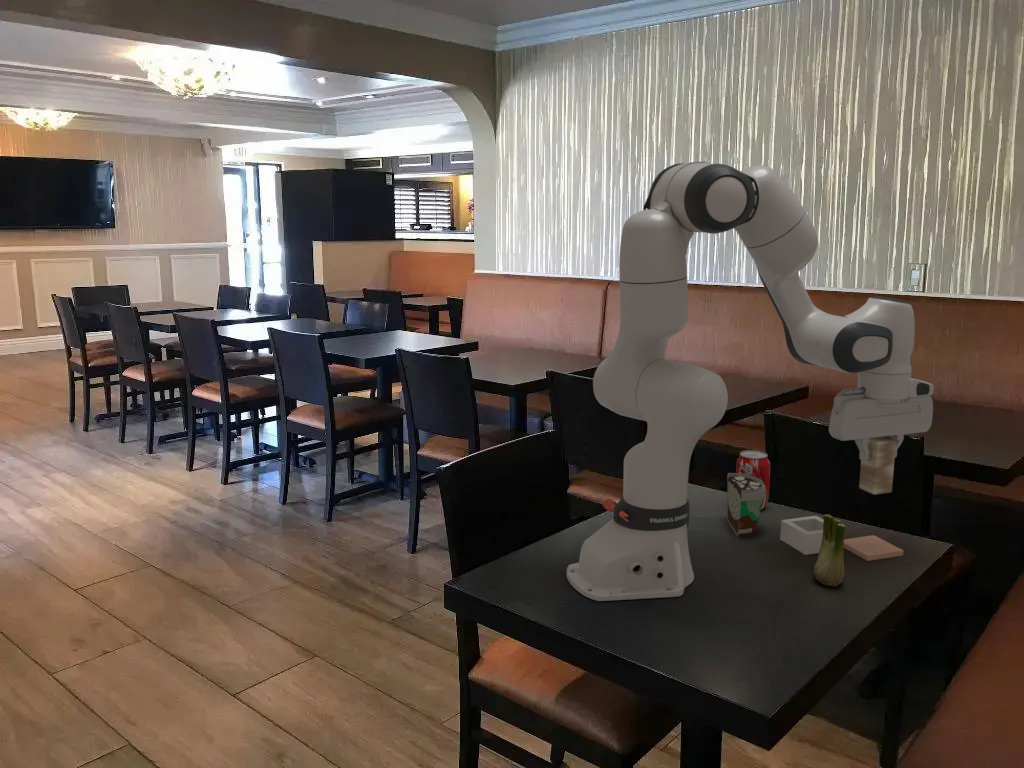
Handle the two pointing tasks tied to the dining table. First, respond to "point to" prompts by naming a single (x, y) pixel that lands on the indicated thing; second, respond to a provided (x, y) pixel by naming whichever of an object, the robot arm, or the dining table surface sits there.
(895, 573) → the dining table surface
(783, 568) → the dining table surface
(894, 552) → the terracotta tile
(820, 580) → the fennel bulb
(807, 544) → the pocket collar
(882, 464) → the ash peg
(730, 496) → the food container
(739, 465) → the soda can
